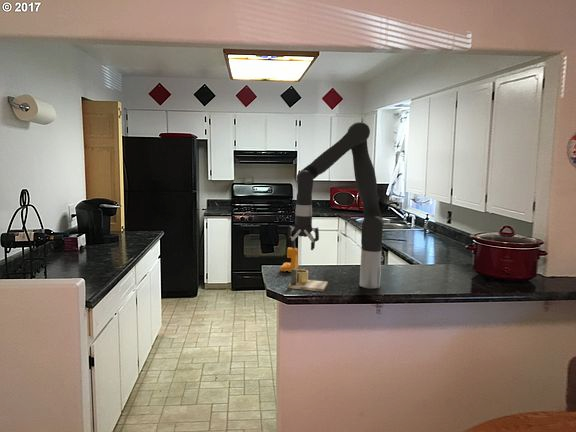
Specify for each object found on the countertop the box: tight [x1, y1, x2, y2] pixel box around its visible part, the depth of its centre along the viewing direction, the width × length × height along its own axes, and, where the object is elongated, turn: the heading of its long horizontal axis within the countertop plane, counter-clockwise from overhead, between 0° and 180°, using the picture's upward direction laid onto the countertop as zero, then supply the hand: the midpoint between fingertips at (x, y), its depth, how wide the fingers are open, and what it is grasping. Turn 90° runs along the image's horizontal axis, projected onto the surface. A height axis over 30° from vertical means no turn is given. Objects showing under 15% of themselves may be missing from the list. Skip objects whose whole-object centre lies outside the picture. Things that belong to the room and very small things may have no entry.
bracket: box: [280, 246, 299, 273], centre depth 235 cm, size 11×7×12 cm, turn 169°
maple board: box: [287, 269, 329, 293], centre depth 209 cm, size 16×12×8 cm
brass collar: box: [296, 268, 309, 284], centre depth 212 cm, size 6×6×5 cm
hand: (302, 249), depth 210 cm, fingers open, 8 cm apart
